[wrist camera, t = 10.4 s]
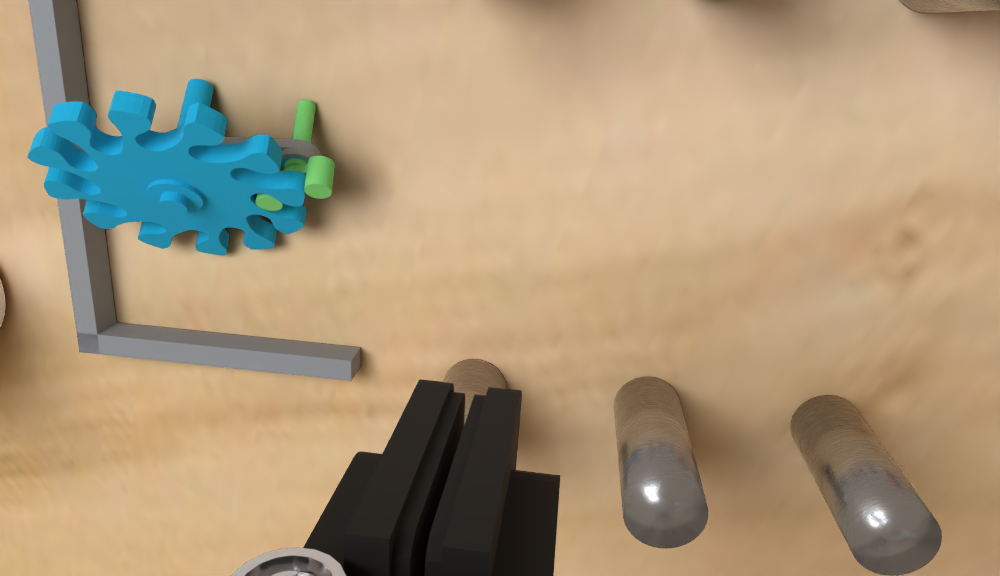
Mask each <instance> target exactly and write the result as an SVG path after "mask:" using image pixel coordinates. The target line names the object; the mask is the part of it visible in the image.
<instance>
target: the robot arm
mask: <svg viewBox="0 0 1000 576" xmlns="http://www.w3.org/2000/svg"><path fill="white" fill-rule="evenodd" d="M521 397H522V391H519V390H510V389H501V388H492V387H488V390H487V393H486V396H485V395H476V394H475V395H474V397H473V400H472V403H471V406H470V410H469V413H468V416H467V419H466V422H465V425H464V418H465V393H458V392H454V384H453V383H447V382H438V381H429V380H419V382H418V383H417V385H416V387H415V389H414V391H413V393H412V395H411V398H410V400H409V402H408V404H407V406H406V408H405V410H404V412H403V414H402V416H401V418H400V420H399V422H398V424H397V426H396V428H395V430H394V432H393V434H392V436H391V438H390V440H389V442H388V444H387V446H386V448H385V450H384V452H383V454H377V453H369V452H358V453H357V454H356V455H355V457H354V458H353V460H352V461H351V463H350V465H349V467H348V469H347V470H346V472H345V474H344V476H343V478H342V479H341V481H340V483H339V485H338V487H337V488H336V490H335V492H334V494H333V495H332V497H331V499H330V501H329V503H328V504H327V506H326V508H325V510H324V512H323V513H322V515H321V517H320V519H319V521H318V522H317V524H316V526H315V528H314V530H313V531H312V533H311V535H310V537H309V538H308V540H307V542H306V544H305V546H304V547H303V548H299V547H297V548H285V549H278V550H274V551H271V552H267V553H264V554H261V555H259V556H257V557H255V558H253V559H251V560H249V561H247V562H246V563H244V564H243V565H242V566H241V567H240V568H239V569H237V570H236V571H235V572H234V573H233V574H232V575H231V576H553V573H554V558H555V544H556V529H557V515H558V500H559V486H560V475H552V474H543V473H535V472H527V471H518V470H516V460H517V447H518V435H519V423H520V410H521Z"/></svg>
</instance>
